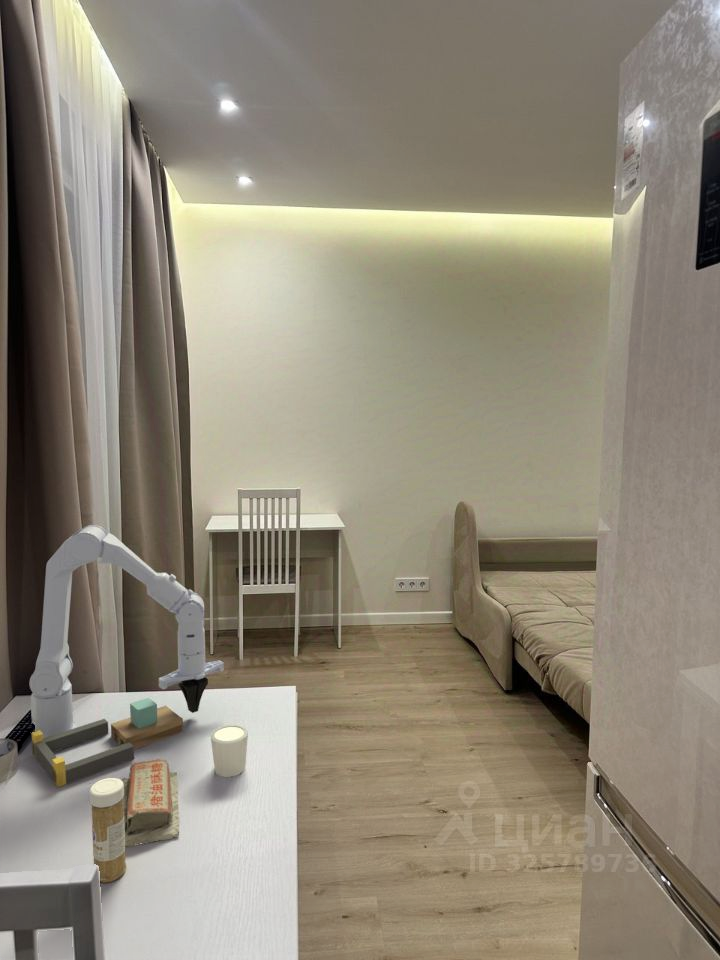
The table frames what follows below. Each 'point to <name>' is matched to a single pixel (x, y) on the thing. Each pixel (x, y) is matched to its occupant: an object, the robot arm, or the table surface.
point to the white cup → (229, 750)
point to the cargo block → (143, 713)
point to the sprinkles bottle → (108, 828)
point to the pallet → (147, 729)
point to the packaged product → (150, 803)
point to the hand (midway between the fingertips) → (193, 710)
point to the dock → (82, 767)
